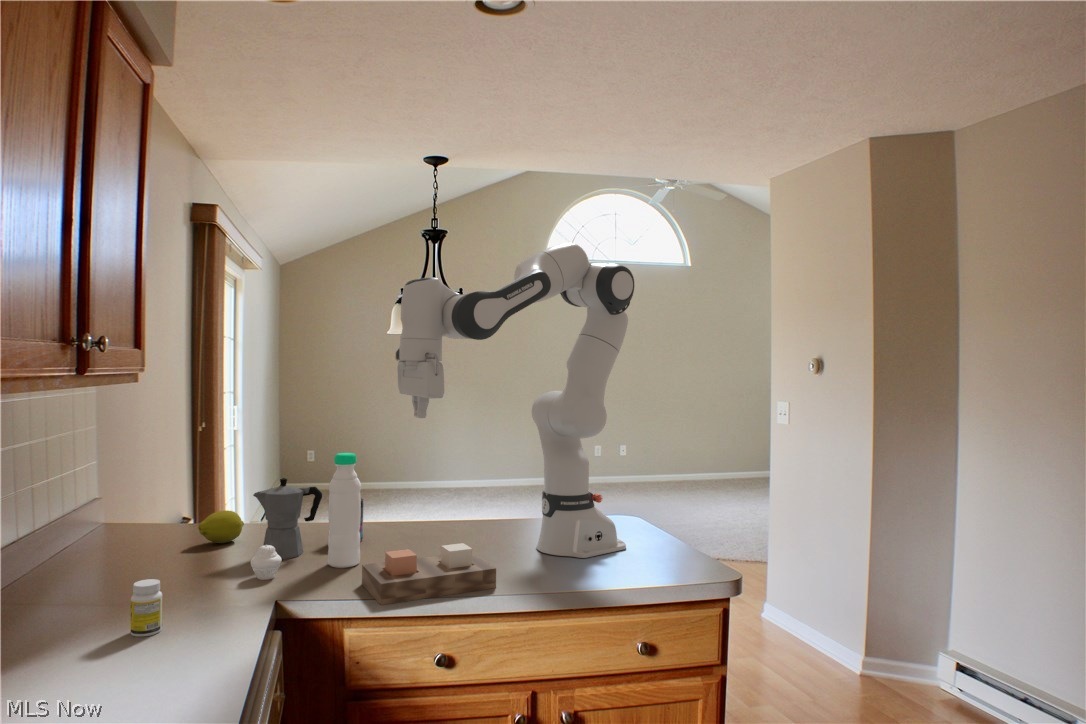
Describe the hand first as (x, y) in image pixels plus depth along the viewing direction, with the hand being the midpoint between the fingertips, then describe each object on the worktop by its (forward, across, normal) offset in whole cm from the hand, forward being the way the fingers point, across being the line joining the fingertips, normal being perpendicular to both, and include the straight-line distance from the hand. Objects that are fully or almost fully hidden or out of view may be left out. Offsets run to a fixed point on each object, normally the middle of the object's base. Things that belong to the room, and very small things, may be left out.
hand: (420, 417), depth 155 cm
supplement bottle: (+34, -10, +51) cm, 62 cm away
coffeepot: (+34, +30, +22) cm, 51 cm away
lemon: (+34, +47, +35) cm, 68 cm away
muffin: (+34, +13, +29) cm, 47 cm away
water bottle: (+34, +16, +12) cm, 40 cm away
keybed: (+34, -7, 0) cm, 35 cm away
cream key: (+32, -7, -6) cm, 33 cm away
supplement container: (+34, +36, +6) cm, 50 cm away
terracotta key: (+32, -7, +6) cm, 33 cm away
